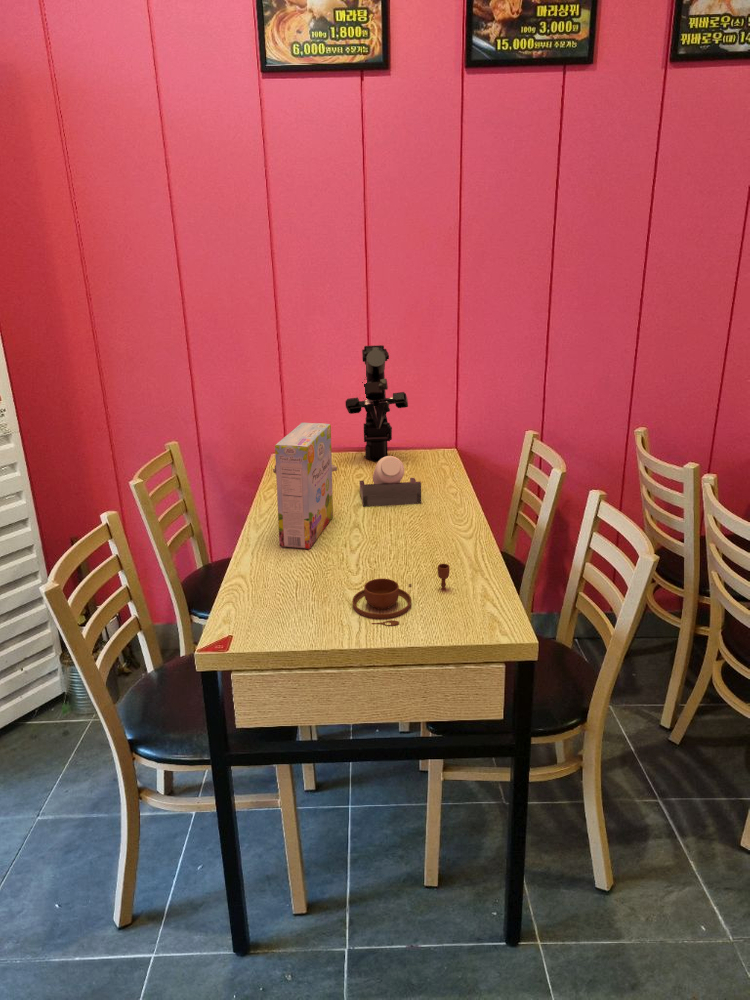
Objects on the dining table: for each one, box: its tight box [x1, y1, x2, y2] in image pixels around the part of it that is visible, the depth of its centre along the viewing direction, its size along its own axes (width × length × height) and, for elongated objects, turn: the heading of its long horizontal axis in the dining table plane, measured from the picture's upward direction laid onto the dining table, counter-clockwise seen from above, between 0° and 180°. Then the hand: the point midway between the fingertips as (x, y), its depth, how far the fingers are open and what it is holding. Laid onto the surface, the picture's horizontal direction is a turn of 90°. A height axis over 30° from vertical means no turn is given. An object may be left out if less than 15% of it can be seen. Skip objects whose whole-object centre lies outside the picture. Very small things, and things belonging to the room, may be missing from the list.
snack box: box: [274, 422, 334, 550], centre depth 183 cm, size 22×9×26 cm, turn 168°
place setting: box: [351, 563, 450, 627], centre depth 150 cm, size 18×20×6 cm
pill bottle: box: [372, 455, 405, 484], centre depth 207 cm, size 8×8×15 cm
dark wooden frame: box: [359, 477, 422, 508], centre depth 208 cm, size 13×16×6 cm
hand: (378, 428), depth 227 cm, fingers closed
